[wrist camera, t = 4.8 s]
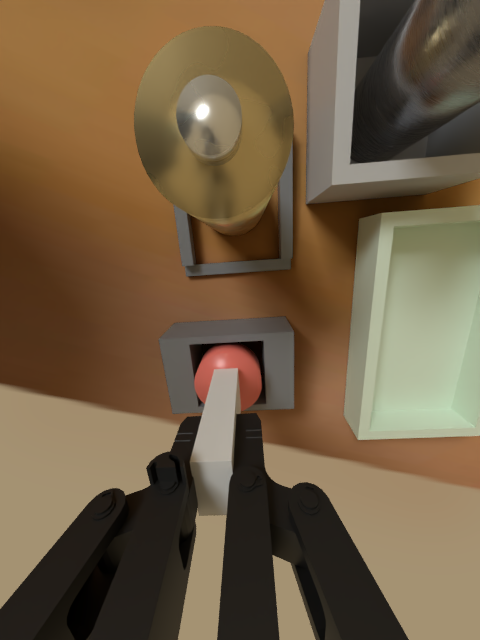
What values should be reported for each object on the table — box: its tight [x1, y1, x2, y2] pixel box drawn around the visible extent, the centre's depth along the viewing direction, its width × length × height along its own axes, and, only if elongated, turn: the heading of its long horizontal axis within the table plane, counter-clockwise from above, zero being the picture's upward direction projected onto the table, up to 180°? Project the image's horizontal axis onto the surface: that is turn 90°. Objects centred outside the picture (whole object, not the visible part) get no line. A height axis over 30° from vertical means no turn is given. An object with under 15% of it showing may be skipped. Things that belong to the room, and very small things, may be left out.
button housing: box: [159, 316, 294, 414], centre depth 18 cm, size 9×7×4 cm
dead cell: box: [350, 0, 480, 164], centre depth 9 cm, size 4×4×11 cm
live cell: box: [134, 26, 294, 236], centre depth 11 cm, size 4×4×11 cm
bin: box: [306, 0, 480, 204], centre depth 12 cm, size 8×8×5 cm
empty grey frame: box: [174, 140, 293, 276], centre depth 15 cm, size 8×10×1 cm
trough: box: [344, 205, 480, 440], centre depth 17 cm, size 10×17×3 cm, turn 4°
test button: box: [194, 342, 262, 411], centre depth 16 cm, size 4×4×2 cm
